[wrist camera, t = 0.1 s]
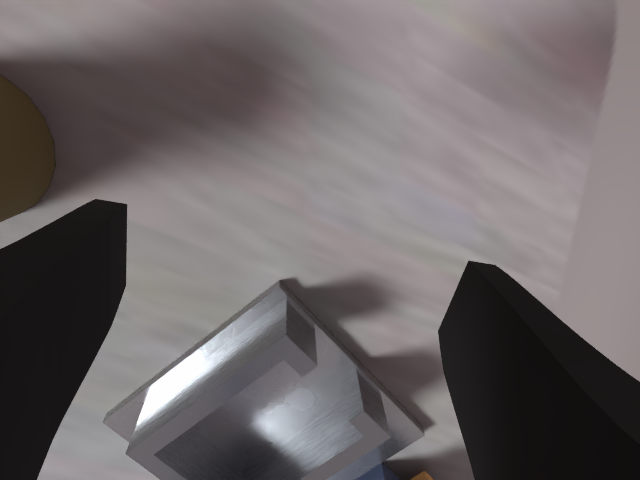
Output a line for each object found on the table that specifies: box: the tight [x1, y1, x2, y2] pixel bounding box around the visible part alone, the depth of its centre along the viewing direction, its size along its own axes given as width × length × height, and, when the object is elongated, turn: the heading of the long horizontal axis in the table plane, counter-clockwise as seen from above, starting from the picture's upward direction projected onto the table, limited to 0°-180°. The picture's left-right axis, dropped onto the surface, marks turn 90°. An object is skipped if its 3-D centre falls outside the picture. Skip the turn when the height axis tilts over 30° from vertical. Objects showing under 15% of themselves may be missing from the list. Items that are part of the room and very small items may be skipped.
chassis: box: [103, 281, 425, 480], centre depth 24 cm, size 11×11×4 cm
